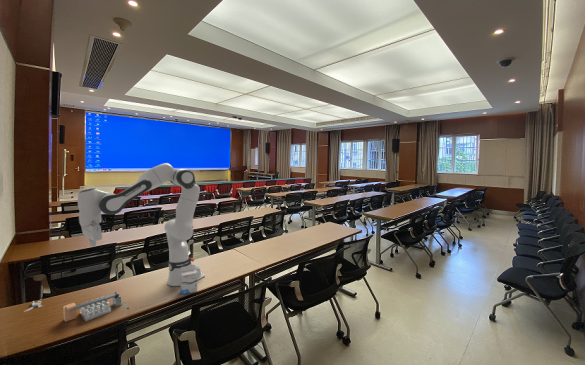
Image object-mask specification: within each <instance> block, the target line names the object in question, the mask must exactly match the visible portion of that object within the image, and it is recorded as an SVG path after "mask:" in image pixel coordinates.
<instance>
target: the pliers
mask: <svg viewBox="0 0 585 365" xmlns="http://www.w3.org/2000/svg"><path fill="white" fill-rule="evenodd" d="M32 302H33V303H32ZM32 302H31V306H30V307H29V308H28V309H25V310H24V311H23V312H24V313H25V312H29V311H31V310H33V309H34V308H36V307H37V308H40V307H43V305H42V301H39V300H38V301H37V302H35V300H33V301H32Z"/></svg>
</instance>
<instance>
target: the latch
mask: <svg viewBox="0 0 585 365" xmlns="http://www.w3.org/2000/svg"><path fill="white" fill-rule="evenodd" d="M76 305H77V304H76V303H75V302H71V303H68V304H66V305H63V307H62V308H63V320H64V322H65V323H66V322H68V321H72V320H75V319H77V318H78V317H77V309H75V310H72V311H70V310H71V309H74V308H76Z"/></svg>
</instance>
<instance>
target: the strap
mask: <svg viewBox="0 0 585 365" xmlns="http://www.w3.org/2000/svg"><path fill="white" fill-rule="evenodd" d="M119 295H120V294H119V293H118V292H116V291H115V292H114V293H112V294H108V295H105V296H103V297H102V296H100V297H97V298H98V299H96V298H95V299H91V300H92V301H91V300H87V301H88V302H87V301H86V302H82V304H81V303H80V304H76V308H74V309H71V310H70V311H72V310H75V309H76V310H78V309H81V307H85V306H86V307H87V306H88V305H92V304H94V303H97V302H100V301H104V300H107V301H108V300H109V299H113V297H116V296H117V297H119Z"/></svg>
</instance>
